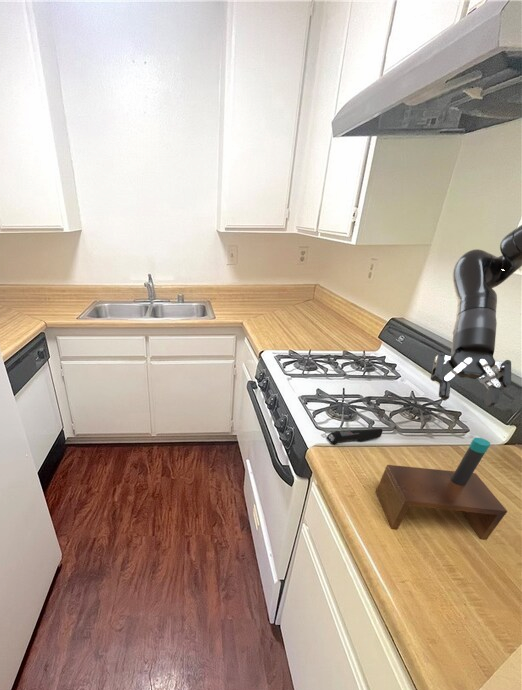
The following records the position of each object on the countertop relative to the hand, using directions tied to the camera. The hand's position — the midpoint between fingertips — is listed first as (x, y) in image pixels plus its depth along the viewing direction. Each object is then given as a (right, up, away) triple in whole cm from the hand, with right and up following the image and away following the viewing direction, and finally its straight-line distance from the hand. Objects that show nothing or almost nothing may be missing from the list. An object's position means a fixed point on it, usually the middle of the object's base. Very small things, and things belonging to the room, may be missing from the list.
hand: (467, 402), depth 74 cm
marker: (-5, -16, -4) cm, 18 cm away
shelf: (-9, -24, -1) cm, 26 cm away
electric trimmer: (-15, -8, +23) cm, 28 cm away
